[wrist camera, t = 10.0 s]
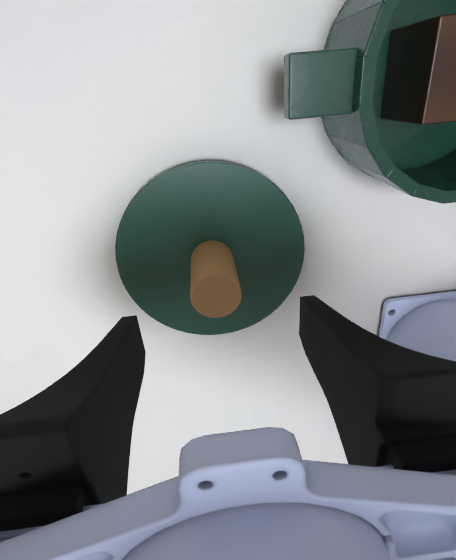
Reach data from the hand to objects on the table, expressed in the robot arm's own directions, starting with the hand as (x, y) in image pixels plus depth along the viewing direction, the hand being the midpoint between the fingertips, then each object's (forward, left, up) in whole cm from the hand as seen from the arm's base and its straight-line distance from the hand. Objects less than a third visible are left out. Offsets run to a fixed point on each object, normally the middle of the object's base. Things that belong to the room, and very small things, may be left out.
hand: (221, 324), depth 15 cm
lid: (0, 0, -8) cm, 8 cm away
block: (+9, -12, -8) cm, 17 cm away
